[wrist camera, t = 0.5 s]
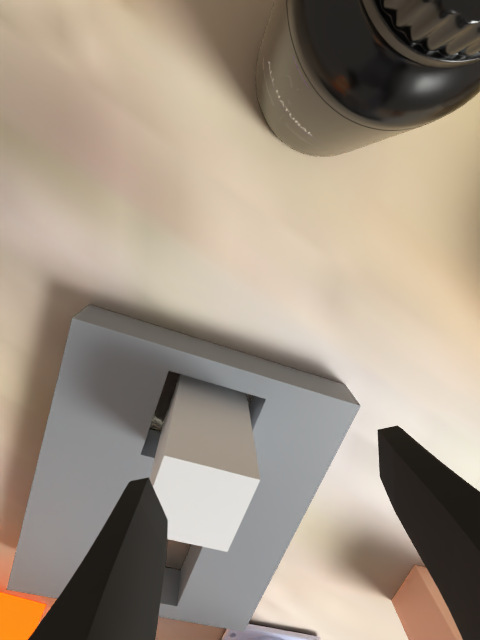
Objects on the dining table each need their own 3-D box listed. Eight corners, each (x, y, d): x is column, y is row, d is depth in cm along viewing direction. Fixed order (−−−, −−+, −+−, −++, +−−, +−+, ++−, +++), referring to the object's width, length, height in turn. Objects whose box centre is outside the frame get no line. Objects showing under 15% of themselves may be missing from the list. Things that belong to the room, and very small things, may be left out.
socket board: (241, 595, 28) (251, 743, 20) (26, 553, 25) (-57, 705, 17) (345, 384, 23) (411, 476, 15) (89, 304, 20) (11, 365, 12)
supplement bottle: (234, 131, 18) (269, -1, 6) (283, -30, 16) (455, -625, 5) (358, 179, 19) (577, 140, 7) (417, 33, 17) (829, -316, 6)
